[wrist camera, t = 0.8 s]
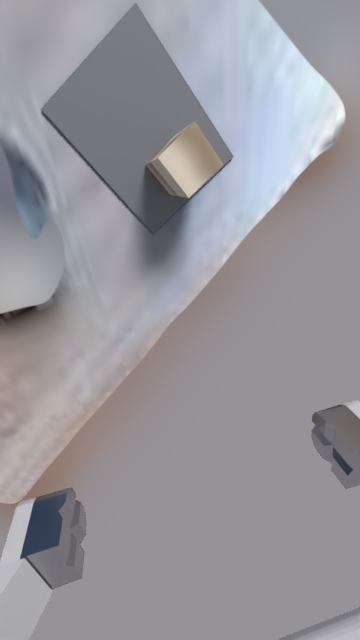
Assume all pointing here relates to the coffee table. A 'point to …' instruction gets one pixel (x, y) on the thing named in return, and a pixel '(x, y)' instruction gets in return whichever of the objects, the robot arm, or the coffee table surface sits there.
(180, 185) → the birch block
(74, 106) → the slate mat
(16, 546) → the robot arm
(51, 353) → the coffee table surface
